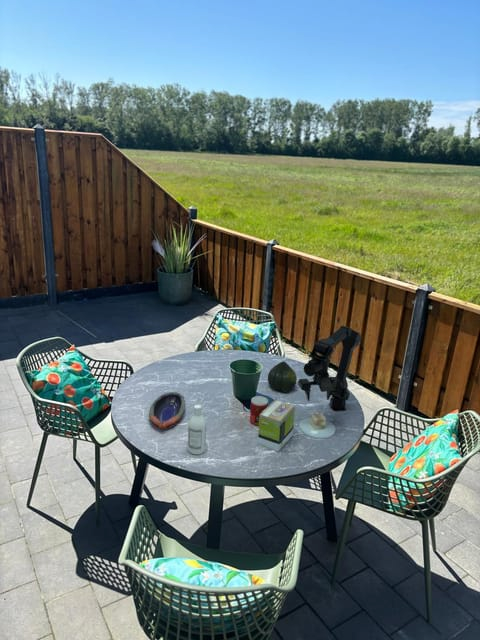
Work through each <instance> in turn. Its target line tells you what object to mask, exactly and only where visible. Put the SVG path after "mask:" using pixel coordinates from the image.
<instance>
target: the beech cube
mask: <svg viewBox="0 0 480 640" xmlns="http://www.w3.org/2000/svg"><path fill="white" fill-rule="evenodd" d="M310 417H311V421H310V424H311V426H312V427H313V429H314V430H320V429H325V423H326V420H327V419H326V417H325V416H324V415H323V413H311V414H310Z"/></svg>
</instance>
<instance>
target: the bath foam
mask: <svg viewBox="0 0 480 640" xmlns="http://www.w3.org/2000/svg"><path fill="white" fill-rule="evenodd" d="M187 429H188V430H187V431H188V433H187V434H188V437H187V439H188V440H187V441H188V442H187V447H188V448H187V450H188V452H189V453H190V454H193V455H201V454H204V453H205V451H206V443H207V442H206V439H207V437H206V436H207V433H206V432H207V422H206V418H205V417H204V416H203V414H202V405H201V404H195V405H194V406H193V414H192V415H191V417H190V419H189V420H188V427H187Z"/></svg>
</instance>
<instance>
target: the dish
mask: <svg viewBox="0 0 480 640" xmlns="http://www.w3.org/2000/svg"><path fill="white" fill-rule="evenodd" d="M149 408H150V409H149V410H148V411H149V412H148V414H149V415H148V417H149V419H150V421H151V422H152V424H154V426H156V427H157V428H158V429H163V430H169V429H170V428H171V427H173V426H175V425H176V424H178V423H179V421H180V420H181V419H182V417H183V414H184V413H185V409H186V399H185V396H183V395H182V394H181V393H179V392H177V391H176V392H175V391H169V392H166V393H163V394H161V395H159V396H158V397H157V398H156V399H154V401H153V402H152V404H151V405H150V407H149Z"/></svg>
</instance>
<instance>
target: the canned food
mask: <svg viewBox="0 0 480 640" xmlns="http://www.w3.org/2000/svg"><path fill="white" fill-rule="evenodd" d="M250 400H251V401H250V411H249V414H250V416H249V421H250V423H251V424H252V425H253V426H256V427H259V415H260V414H261V413H262V412H263V411H264V410H265V409H266V408H267V407H268V406H269V399H268V398H267V397H264V396H261V395H260V396H259V395H255V396H254V397H252V398H251V399H250Z"/></svg>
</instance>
